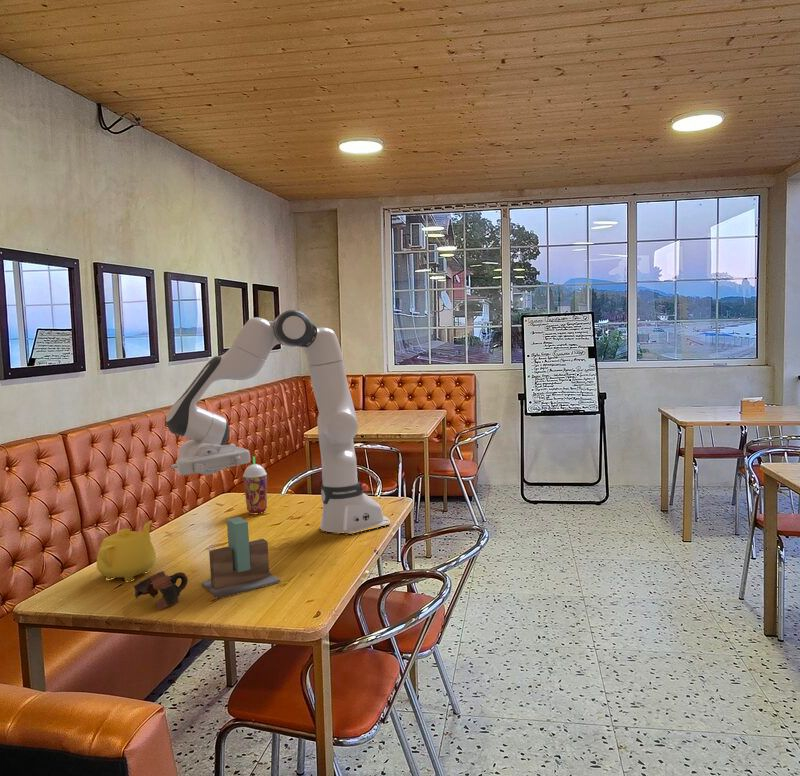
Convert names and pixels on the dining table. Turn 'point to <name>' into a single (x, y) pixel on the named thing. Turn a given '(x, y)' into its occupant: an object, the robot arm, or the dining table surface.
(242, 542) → the teal green rectangular block
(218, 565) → the walnut slotted plate
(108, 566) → the teapot
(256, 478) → the smoothie
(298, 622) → the dining table surface
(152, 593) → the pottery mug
